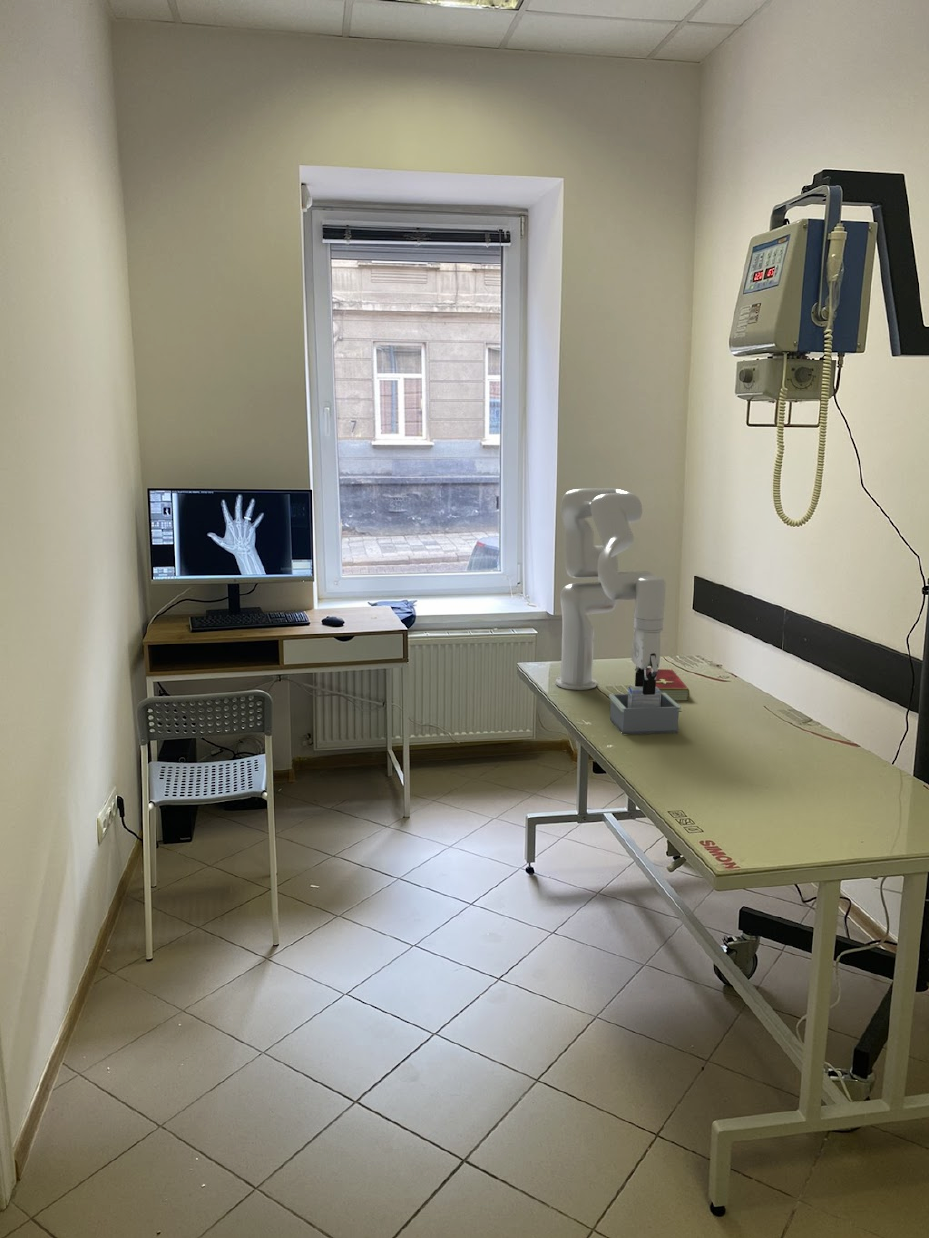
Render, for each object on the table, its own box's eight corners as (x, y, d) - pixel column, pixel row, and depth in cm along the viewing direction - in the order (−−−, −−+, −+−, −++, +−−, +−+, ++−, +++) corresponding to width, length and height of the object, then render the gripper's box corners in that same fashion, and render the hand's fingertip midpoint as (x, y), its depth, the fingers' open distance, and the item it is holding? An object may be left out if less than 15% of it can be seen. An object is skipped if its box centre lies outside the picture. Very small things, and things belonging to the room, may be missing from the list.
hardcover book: (672, 681, 286) (673, 668, 285) (689, 701, 266) (689, 687, 265) (634, 680, 286) (635, 668, 285) (647, 701, 266) (648, 687, 265)
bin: (608, 719, 248) (609, 694, 247) (663, 717, 250) (665, 692, 248) (621, 734, 236) (622, 708, 234) (679, 733, 238) (680, 707, 236)
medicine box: (655, 717, 245) (657, 686, 243) (659, 722, 241) (661, 691, 239) (626, 717, 245) (628, 686, 243) (630, 722, 240) (631, 691, 239)
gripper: (625, 617, 245) (621, 681, 249) (644, 632, 228) (640, 700, 232) (652, 616, 246) (648, 680, 250) (673, 631, 229) (669, 700, 233)
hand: (644, 689), depth 241 cm, fingers open, 6 cm apart
